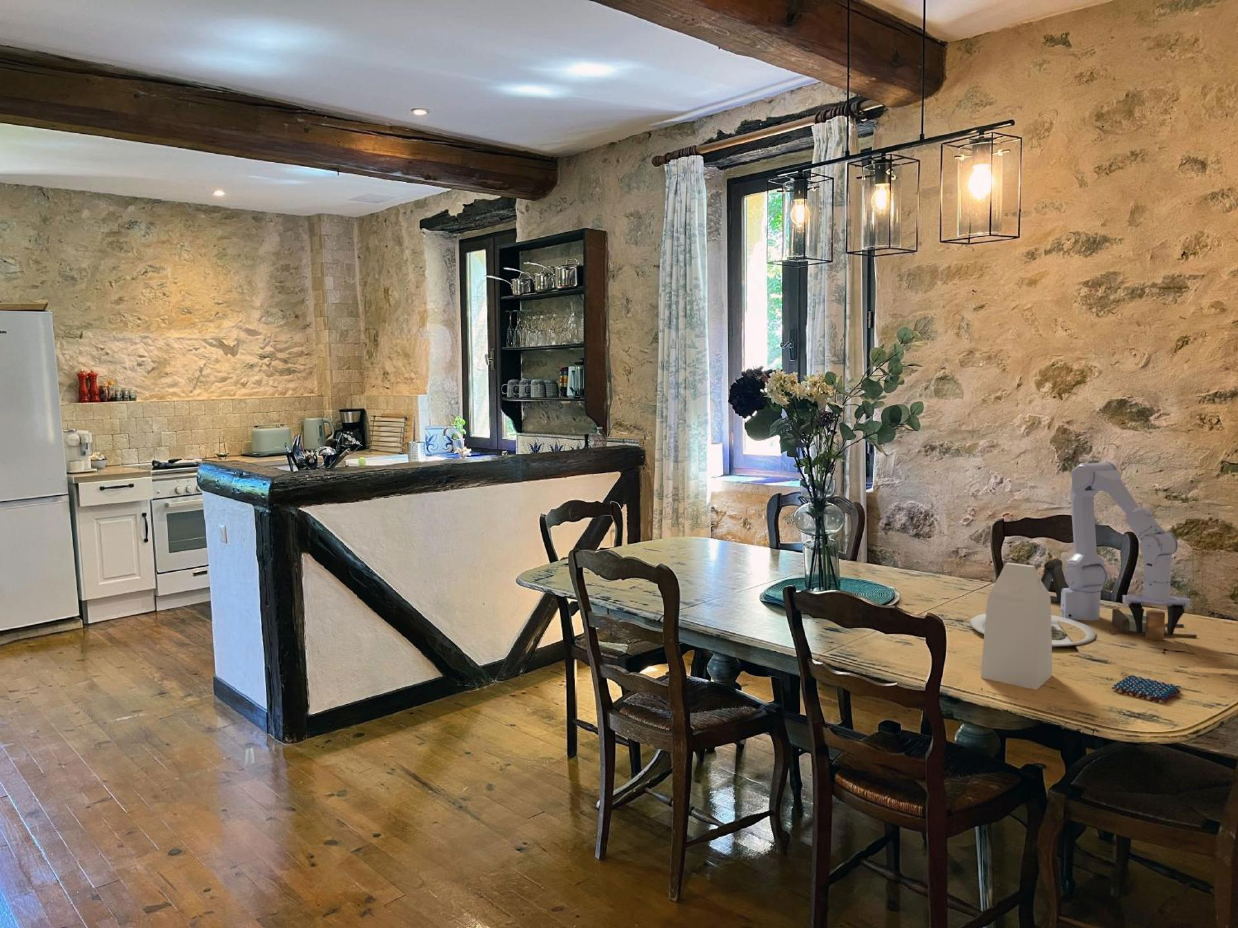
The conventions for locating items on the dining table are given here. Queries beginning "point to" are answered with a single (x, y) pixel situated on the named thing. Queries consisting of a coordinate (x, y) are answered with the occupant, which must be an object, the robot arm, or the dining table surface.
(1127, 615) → the socket block
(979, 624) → the plated food
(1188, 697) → the dining table surface
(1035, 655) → the milk
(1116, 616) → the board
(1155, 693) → the woven mat
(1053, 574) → the door stopper
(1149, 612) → the dowel
